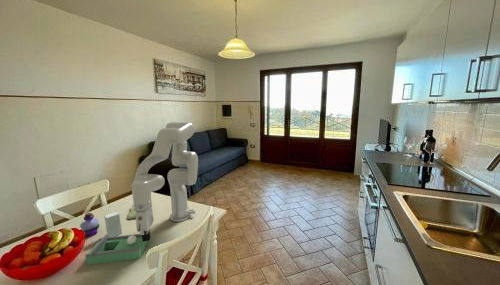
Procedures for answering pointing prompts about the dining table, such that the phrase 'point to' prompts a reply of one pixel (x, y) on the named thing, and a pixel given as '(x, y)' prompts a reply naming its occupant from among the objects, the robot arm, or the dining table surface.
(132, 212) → the washcloth
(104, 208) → the dining table surface
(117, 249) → the green
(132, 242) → the ball
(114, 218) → the skincare box
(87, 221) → the purple rounded piece
